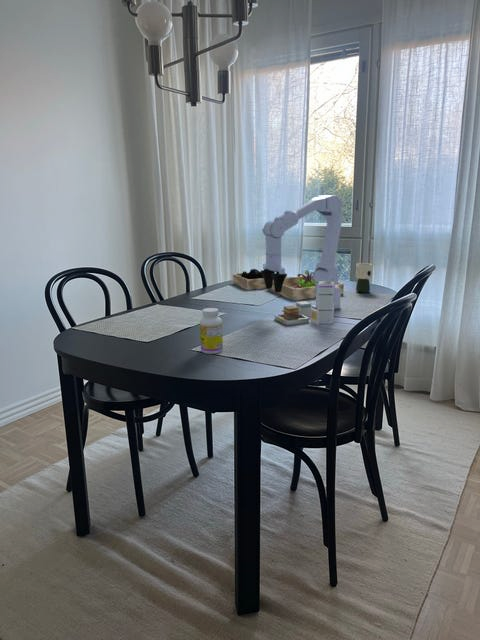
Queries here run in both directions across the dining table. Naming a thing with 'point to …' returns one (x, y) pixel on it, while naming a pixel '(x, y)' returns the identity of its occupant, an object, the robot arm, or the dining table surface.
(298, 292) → the oak planter frame
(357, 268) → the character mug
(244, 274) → the film camera
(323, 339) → the dining table surface
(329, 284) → the syrup box
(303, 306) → the grey block
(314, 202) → the robot arm
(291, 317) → the walnut block
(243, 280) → the shallow wooden crate
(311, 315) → the label plate
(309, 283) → the plant
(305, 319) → the parts tray
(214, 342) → the supplement bottle
